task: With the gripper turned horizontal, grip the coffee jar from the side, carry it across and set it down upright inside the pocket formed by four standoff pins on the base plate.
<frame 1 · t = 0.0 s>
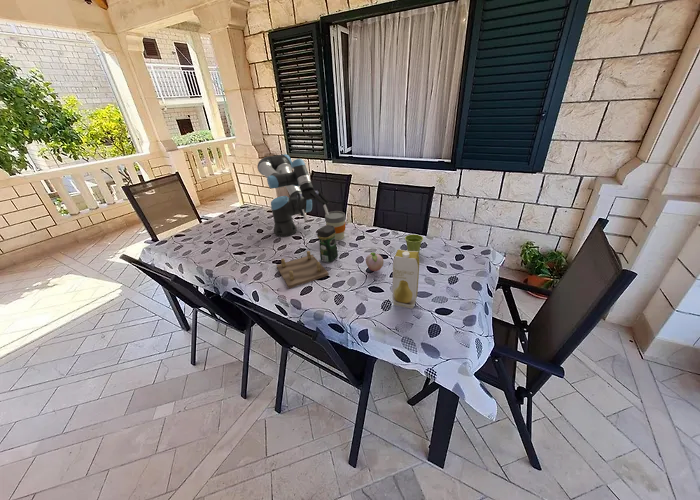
hand: (317, 218, 157), 16 cm above the table, tool tilted 35°, fingers open, 13 cm apart
standoff base: (301, 271, 137), on the table
coffee jar: (329, 258, 146), on the table
reusable coffee cup: (337, 237, 170), on the table, touching gripper
juice carton: (404, 303, 110), on the table
decorative fruit: (375, 271, 133), on the table
plant pot: (413, 252, 146), on the table
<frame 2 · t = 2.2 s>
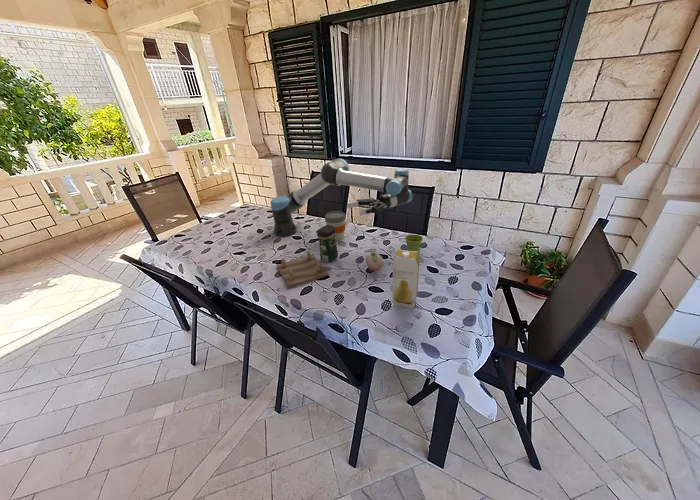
hand: (353, 209, 141), 24 cm above the table, tool horizontal, fingers open, 13 cm apart
reusable coffee cup: (337, 237, 170), on the table
everything else where it was.
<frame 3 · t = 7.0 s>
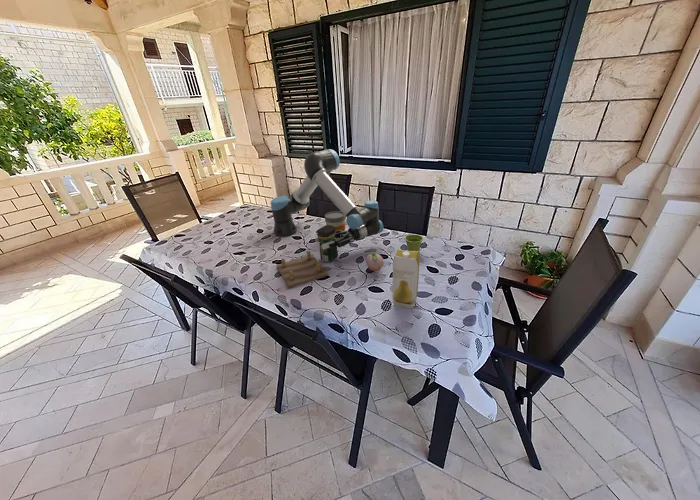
hand: (319, 243, 140), 11 cm above the table, tool horizontal, fingers closed on coffee jar, 8 cm apart
coffee jar: (329, 258, 146), on the table, touching gripper
everything else where it was.
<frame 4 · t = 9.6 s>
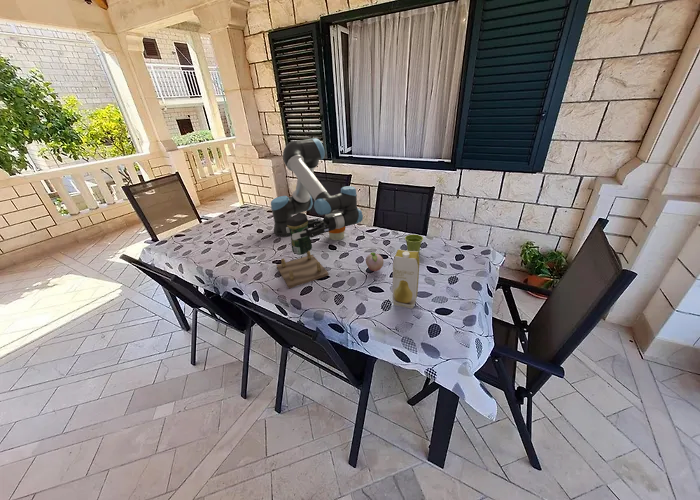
hand: (289, 233, 125), 22 cm above the table, tool horizontal, fingers closed on coffee jar, 8 cm apart
coffee jar: (302, 251, 132), point 11 cm above the table, touching gripper
everything else where it was.
when the fingers open (13 cm above the table, at t = 12.3 s): coffee jar drops 1 cm, resting on standoff base.
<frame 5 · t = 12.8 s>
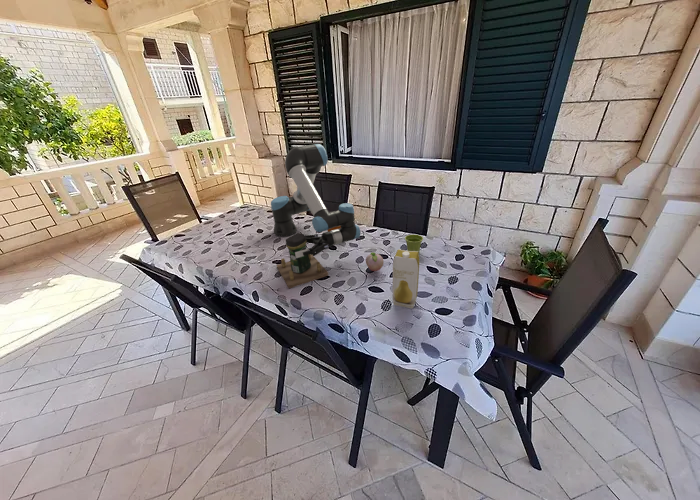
hand: (291, 249, 129), 13 cm above the table, tool horizontal, fingers open, 13 cm apart
coffee jar: (301, 269, 136), point 1 cm above the table, touching standoff base
everything else where it was.
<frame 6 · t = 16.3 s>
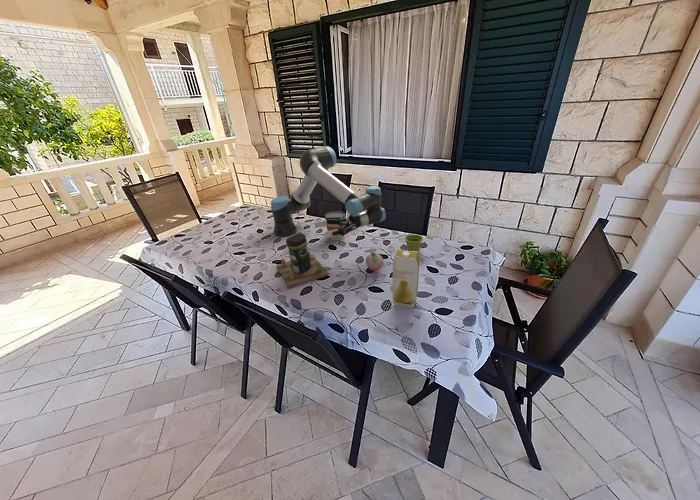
hand: (319, 230, 132), 20 cm above the table, tool horizontal, fingers open, 13 cm apart
nothing on the table moved.
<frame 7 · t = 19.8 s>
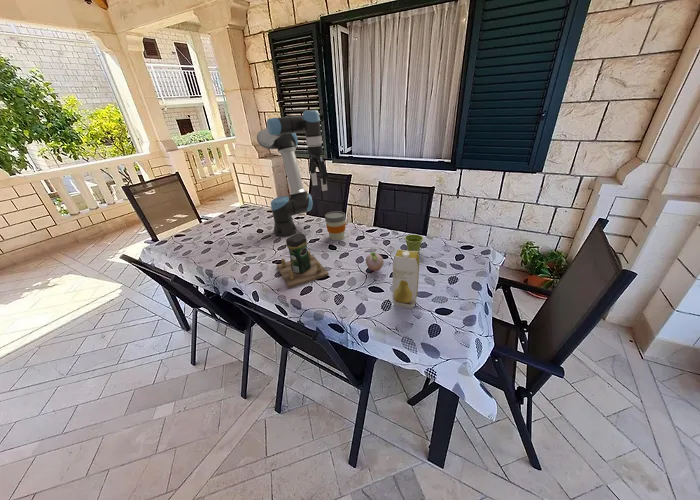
hand: (319, 187, 144), 35 cm above the table, tool pointing down, fingers open, 13 cm apart
nothing on the table moved.
at the end: coffee jar 0.2 cm off-centre on the standoff base, point 1.3 cm above the standoff base's base; coffee jar tilted 0°; the gripper is holding nothing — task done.
